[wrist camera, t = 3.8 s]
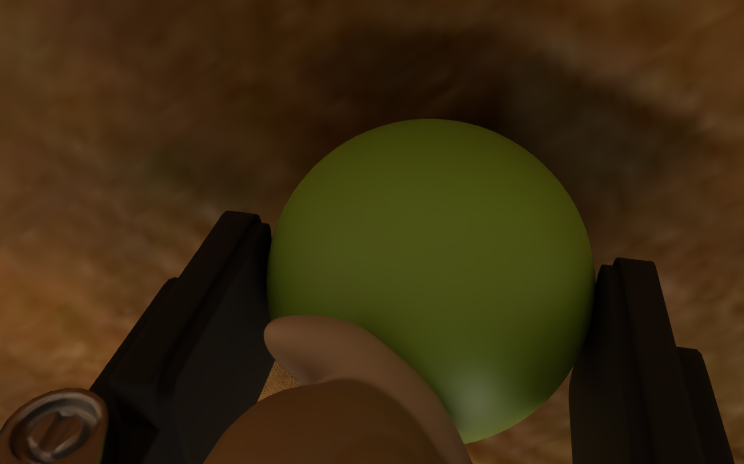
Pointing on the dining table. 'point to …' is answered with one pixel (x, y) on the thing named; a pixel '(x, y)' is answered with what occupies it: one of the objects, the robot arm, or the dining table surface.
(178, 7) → the dining table surface
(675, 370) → the robot arm
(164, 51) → the dining table surface
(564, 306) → the snail figurine
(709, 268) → the dining table surface
